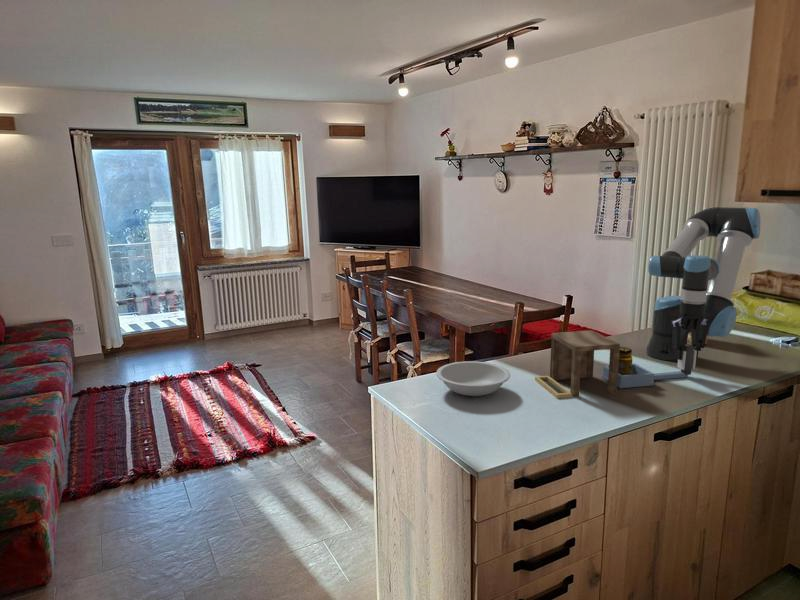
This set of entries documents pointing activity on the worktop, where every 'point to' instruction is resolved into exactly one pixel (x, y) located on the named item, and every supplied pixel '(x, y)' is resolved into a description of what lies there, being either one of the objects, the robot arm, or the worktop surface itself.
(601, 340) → the tunnel
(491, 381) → the soup bowl
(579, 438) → the worktop surface
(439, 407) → the worktop surface
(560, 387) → the beige rectangular tray
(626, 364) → the condiment
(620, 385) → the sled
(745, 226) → the robot arm
